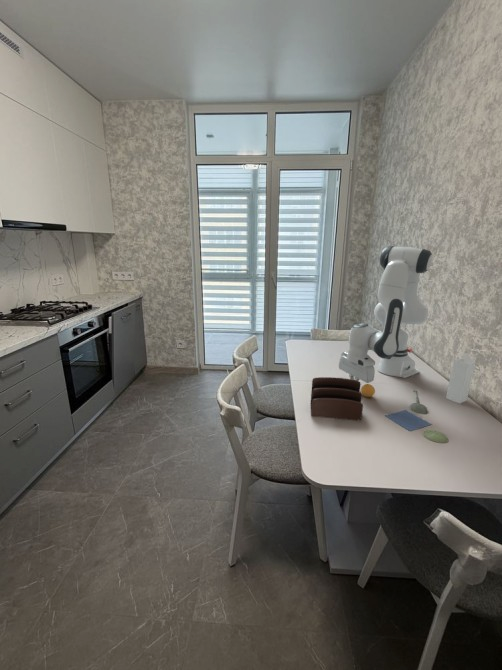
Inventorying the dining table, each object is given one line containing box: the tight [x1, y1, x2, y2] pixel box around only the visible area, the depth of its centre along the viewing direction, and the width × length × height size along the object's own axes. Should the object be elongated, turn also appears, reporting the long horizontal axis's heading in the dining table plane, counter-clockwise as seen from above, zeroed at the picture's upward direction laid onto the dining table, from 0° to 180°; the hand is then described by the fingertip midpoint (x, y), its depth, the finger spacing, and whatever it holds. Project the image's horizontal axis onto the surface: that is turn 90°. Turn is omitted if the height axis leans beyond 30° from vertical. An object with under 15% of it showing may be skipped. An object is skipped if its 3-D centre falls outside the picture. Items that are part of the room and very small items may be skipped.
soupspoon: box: [409, 389, 428, 415], centre depth 138 cm, size 22×3×7 cm
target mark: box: [384, 409, 433, 432], centre depth 124 cm, size 12×12×1 cm
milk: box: [445, 352, 476, 404], centre depth 138 cm, size 6×6×22 cm
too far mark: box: [422, 429, 449, 444], centre depth 113 cm, size 8×8×1 cm
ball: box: [360, 383, 376, 398], centre depth 142 cm, size 6×6×6 cm
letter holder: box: [309, 376, 364, 422], centre depth 127 cm, size 10×20×14 cm, turn 81°
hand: (353, 384), depth 150 cm, fingers closed
